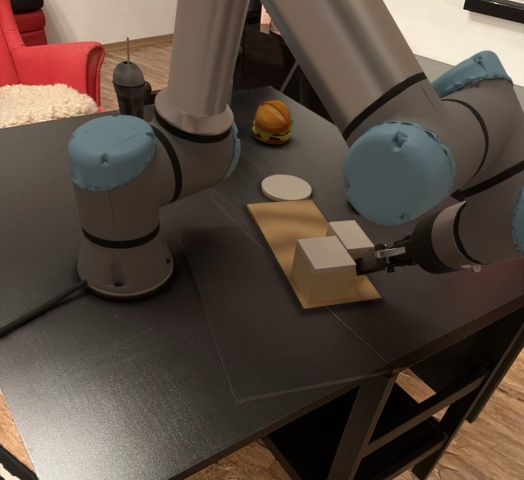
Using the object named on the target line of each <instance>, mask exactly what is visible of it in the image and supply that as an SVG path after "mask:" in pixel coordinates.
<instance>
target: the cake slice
mask: <svg viewBox="0 0 524 480" xmlns="http://www.w3.org/2000/svg"><path fill="white" fill-rule="evenodd" d="M328 236H336V237H337V238H338V240H339V241H340V242H341V244H342V245H343V247H344V248H345V249H346V251H347V252H348V254H349V255H350V256H351V258H352V259H353V261H354V262H355V259H358V258H361V257H362V254H364V253H366V252H367V251H369V249H373V248H374V246H375V245H374V243H373V242H372V241H371V240H370V238H369V237H368V236H367V234H366V233H365V232H364V230H363V229H362V228H361V226H360V225H359V224H358V223H357V221H356V220H354V219H353V220H352V219H351V220H339V221H329V222H328V227H327V231H326V236H325V237H328ZM364 278H365V275H360V276H357V274H356V267H355V270H354V273H353V277H352V280H351V281H357V280H364Z"/></svg>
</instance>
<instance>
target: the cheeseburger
mask: <svg viewBox="0 0 524 480" xmlns="http://www.w3.org/2000/svg"><path fill="white" fill-rule="evenodd" d="M294 123H295V121H294V119H292V115H291V112H290V110H289V108H288V106H287V104H285V102H283V101H281V100H277V99H276V100H269V101H264V102H261V103H260V104H259V106H258V108H257V110H256V111H255V115H254V120H253V126H252V128H251V129H252V132H253V137H254V138H255V139H256V140H257V141H260V142H262V143H265V144H269V145H282V144H285V143H287V142H288V140H290V137H291V131H292V129H293V125H294Z"/></svg>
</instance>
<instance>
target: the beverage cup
mask: <svg viewBox="0 0 524 480" xmlns="http://www.w3.org/2000/svg"><path fill="white" fill-rule="evenodd" d="M130 57H131V56H130V37H128V36H127V37H126V60H123V61H120V62H119V63H117V65H115V67H114V69H113V71H112V72H113V74H112V84H113V89H114V92H115V96H116V100H117V104H118V110H119V115H129V116H134V117H138V118H140V119H142V120H144V115H145V114H144V106H145V105H144V104H145V103H144V102H145V101H144V100H145V99H144V98H145V90H146V80H145V76H144V73H143V71H142V69H141V68H140V67H139V66H138V65H137V64H136V63H135V62H132V61H131V58H130ZM144 121H145V120H144Z"/></svg>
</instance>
